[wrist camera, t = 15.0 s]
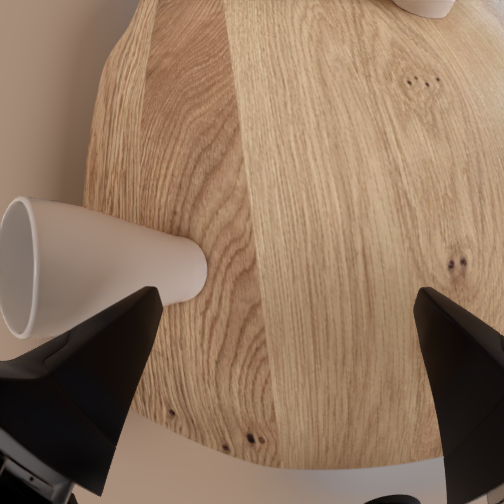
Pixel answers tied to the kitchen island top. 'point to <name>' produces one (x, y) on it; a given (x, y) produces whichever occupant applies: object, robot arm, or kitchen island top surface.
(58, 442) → the robot arm
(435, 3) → the cup
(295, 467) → the kitchen island top surface
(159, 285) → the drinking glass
